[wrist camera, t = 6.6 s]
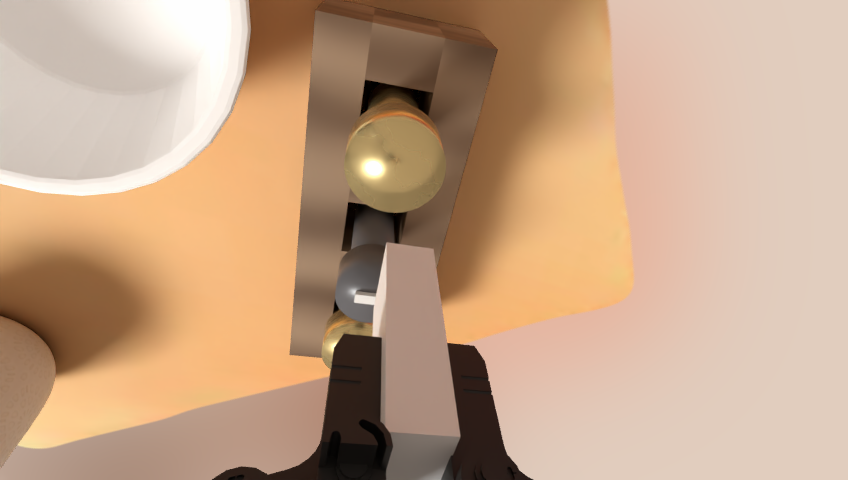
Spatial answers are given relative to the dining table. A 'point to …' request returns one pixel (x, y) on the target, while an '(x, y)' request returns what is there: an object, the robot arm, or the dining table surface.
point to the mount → (341, 107)
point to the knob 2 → (394, 152)
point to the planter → (21, 382)
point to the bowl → (114, 89)
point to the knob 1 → (341, 333)
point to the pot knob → (363, 263)
